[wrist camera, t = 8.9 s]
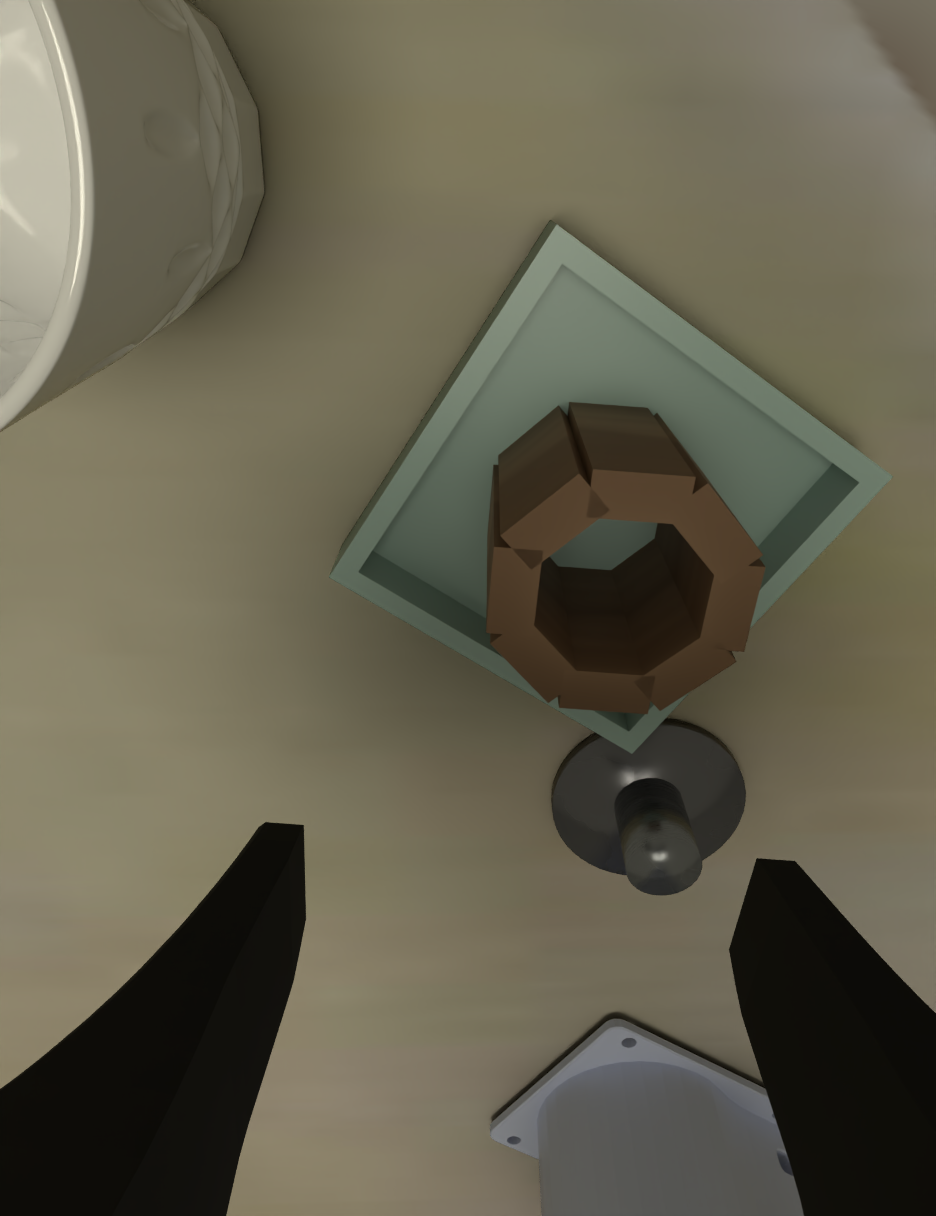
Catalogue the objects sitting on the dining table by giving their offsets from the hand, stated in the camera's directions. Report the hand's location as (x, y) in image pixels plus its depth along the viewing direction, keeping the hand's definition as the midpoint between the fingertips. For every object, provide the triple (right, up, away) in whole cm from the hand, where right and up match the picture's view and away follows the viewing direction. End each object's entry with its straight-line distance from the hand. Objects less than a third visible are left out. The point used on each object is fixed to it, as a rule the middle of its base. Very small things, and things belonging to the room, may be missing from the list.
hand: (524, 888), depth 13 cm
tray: (+2, +7, +7) cm, 10 cm away
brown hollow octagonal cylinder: (+2, +7, +7) cm, 10 cm away
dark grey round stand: (+4, -1, +11) cm, 12 cm away
